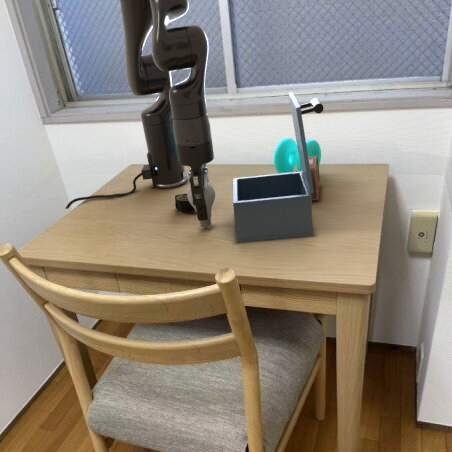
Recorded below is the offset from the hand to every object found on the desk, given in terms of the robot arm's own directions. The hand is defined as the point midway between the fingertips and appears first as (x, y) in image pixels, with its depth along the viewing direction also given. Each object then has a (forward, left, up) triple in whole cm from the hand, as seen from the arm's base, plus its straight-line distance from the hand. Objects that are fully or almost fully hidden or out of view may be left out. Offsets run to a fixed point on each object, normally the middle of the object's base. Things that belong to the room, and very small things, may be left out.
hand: (204, 212), depth 106 cm
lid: (+21, -1, +14) cm, 25 cm away
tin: (+26, +14, -4) cm, 30 cm away
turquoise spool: (+24, +28, -4) cm, 37 cm away
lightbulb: (0, 0, -4) cm, 4 cm away
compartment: (+15, -1, -4) cm, 15 cm away
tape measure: (-5, +12, -4) cm, 14 cm away
